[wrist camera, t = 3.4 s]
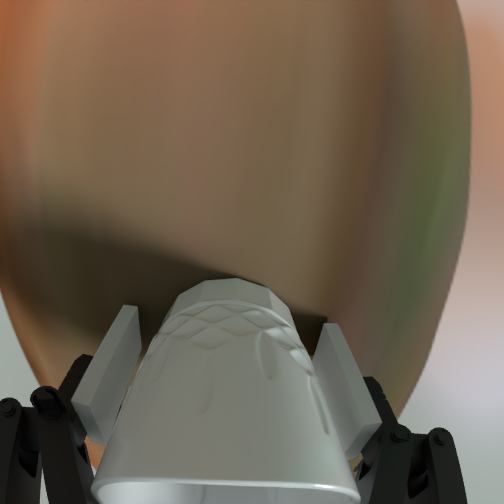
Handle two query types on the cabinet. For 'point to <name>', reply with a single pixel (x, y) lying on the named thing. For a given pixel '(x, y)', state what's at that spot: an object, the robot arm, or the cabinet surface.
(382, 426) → the robot arm
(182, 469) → the white cup
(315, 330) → the cabinet surface
